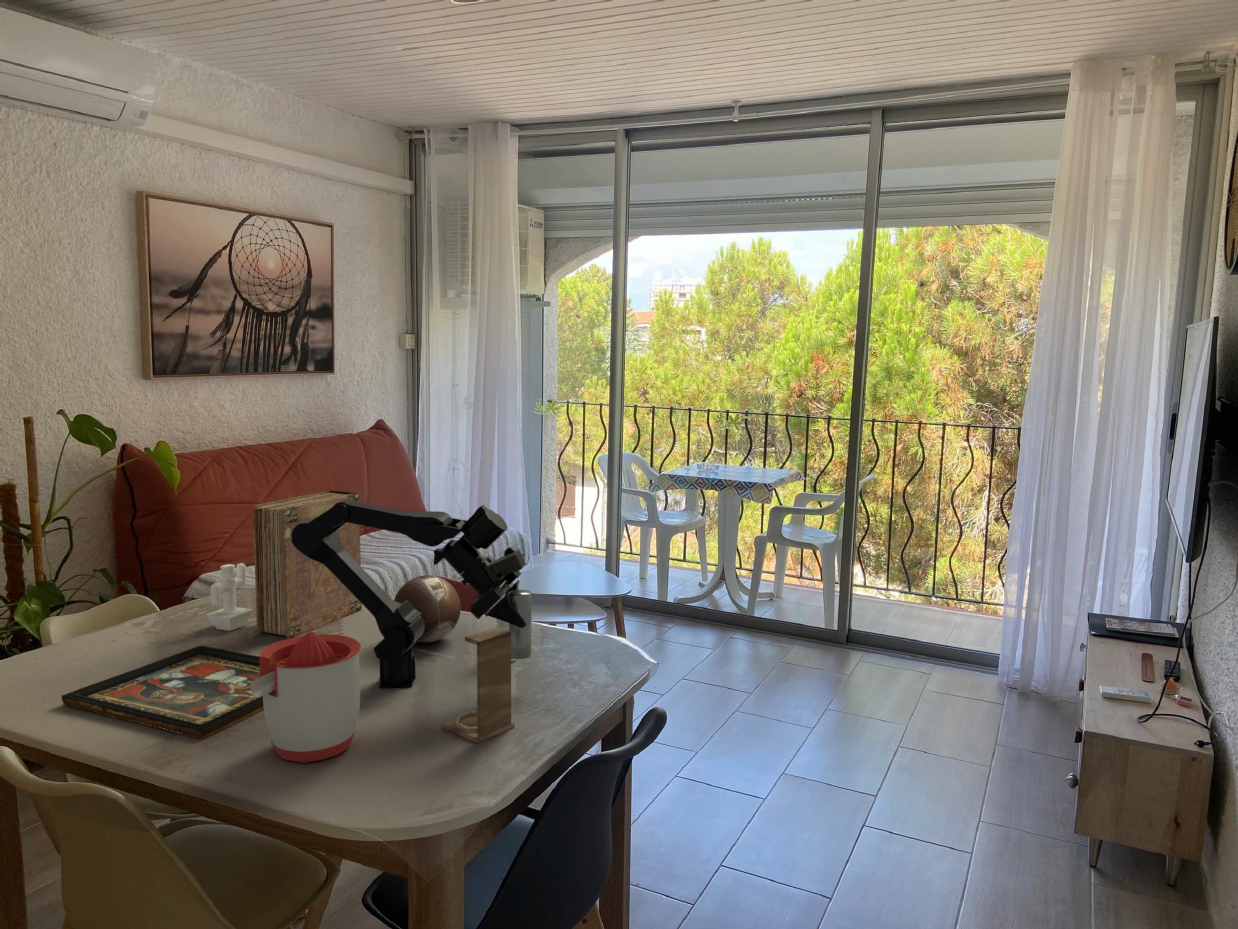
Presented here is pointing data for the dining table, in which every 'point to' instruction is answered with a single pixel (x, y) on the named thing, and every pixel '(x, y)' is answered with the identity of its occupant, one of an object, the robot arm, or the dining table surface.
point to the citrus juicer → (310, 695)
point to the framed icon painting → (180, 692)
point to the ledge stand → (488, 688)
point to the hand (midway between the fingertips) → (527, 622)
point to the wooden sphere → (432, 605)
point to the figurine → (229, 599)
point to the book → (298, 567)
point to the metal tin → (519, 636)
